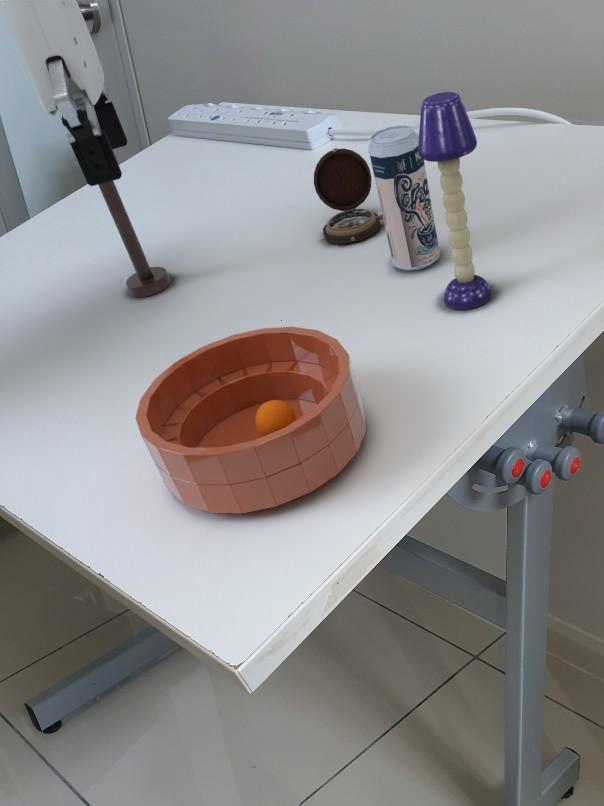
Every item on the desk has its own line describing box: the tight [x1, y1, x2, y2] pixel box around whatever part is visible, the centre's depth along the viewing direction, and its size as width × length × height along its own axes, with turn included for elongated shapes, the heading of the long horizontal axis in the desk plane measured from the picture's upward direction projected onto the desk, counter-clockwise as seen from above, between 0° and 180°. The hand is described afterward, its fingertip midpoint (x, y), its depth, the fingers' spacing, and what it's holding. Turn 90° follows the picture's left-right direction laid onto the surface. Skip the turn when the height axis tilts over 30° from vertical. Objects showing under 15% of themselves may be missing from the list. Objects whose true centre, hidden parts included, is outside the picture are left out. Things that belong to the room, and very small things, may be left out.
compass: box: [313, 147, 384, 245], centre depth 90 cm, size 8×8×7 cm
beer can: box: [367, 125, 441, 272], centre depth 80 cm, size 5×5×12 cm
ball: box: [255, 400, 296, 436], centre depth 65 cm, size 3×3×3 cm
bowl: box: [135, 326, 367, 514], centre depth 64 cm, size 16×16×6 cm
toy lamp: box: [418, 91, 493, 310], centre depth 72 cm, size 5×5×17 cm
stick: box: [97, 180, 171, 298], centre depth 87 cm, size 4×4×16 cm
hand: (109, 164), depth 83 cm, fingers open, 9 cm apart
